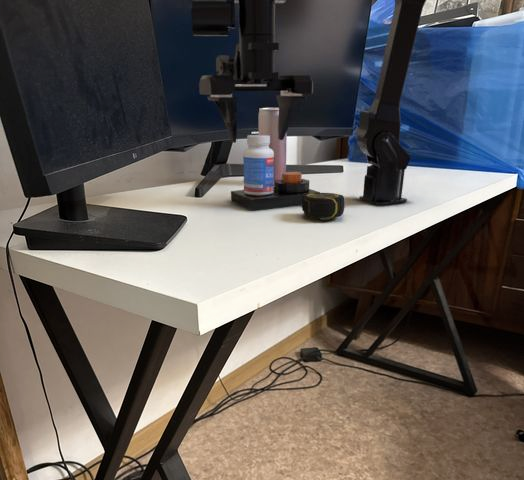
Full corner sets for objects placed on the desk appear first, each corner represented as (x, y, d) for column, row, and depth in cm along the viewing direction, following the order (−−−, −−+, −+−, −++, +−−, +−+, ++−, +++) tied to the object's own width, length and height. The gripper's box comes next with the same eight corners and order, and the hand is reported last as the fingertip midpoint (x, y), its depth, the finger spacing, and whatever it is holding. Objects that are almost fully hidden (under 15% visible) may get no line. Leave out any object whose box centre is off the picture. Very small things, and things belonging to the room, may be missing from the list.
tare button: (295, 180, 97) (295, 171, 97) (305, 183, 94) (305, 173, 94) (278, 182, 96) (278, 172, 95) (288, 185, 93) (288, 175, 92)
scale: (295, 194, 102) (295, 176, 100) (319, 202, 95) (320, 183, 93) (231, 201, 96) (230, 182, 94) (252, 210, 89) (251, 190, 87)
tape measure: (340, 213, 87) (342, 190, 85) (345, 222, 81) (347, 198, 79) (300, 213, 87) (301, 190, 85) (302, 222, 81) (303, 198, 79)
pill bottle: (271, 196, 90) (271, 137, 86) (241, 195, 91) (239, 136, 86) (275, 190, 95) (276, 134, 90) (247, 190, 96) (246, 134, 91)
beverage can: (257, 181, 115) (257, 107, 108) (283, 180, 116) (284, 107, 109) (260, 185, 110) (259, 109, 103) (287, 185, 111) (289, 108, 104)
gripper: (283, 41, 92) (282, 135, 99) (184, 37, 84) (191, 139, 91) (316, 36, 83) (312, 140, 90) (209, 32, 75) (214, 145, 83)
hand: (257, 141), depth 89 cm, fingers open, 9 cm apart
